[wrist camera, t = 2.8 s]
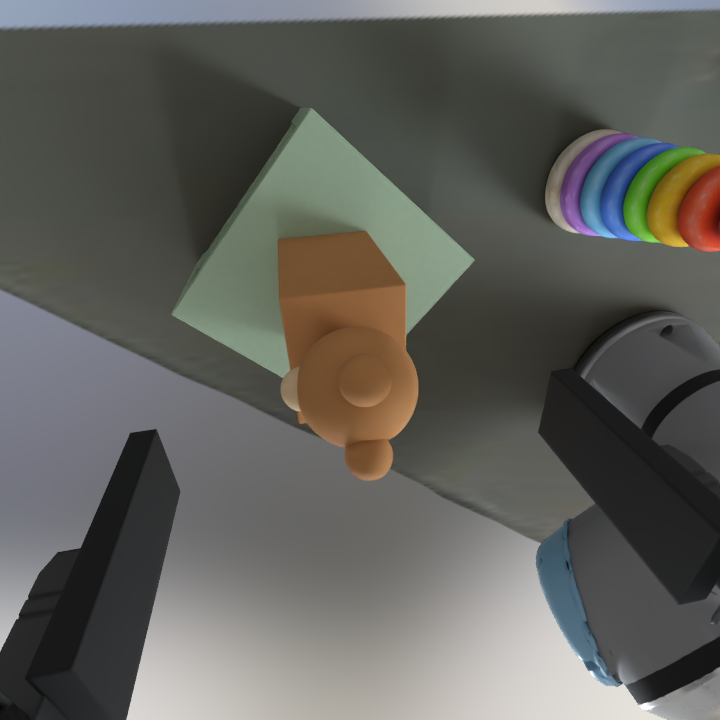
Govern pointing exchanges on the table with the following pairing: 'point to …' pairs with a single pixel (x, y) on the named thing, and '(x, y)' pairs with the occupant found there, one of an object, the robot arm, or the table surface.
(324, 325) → the plush bear
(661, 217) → the stacking toy
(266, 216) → the pale green square stand
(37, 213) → the table surface
